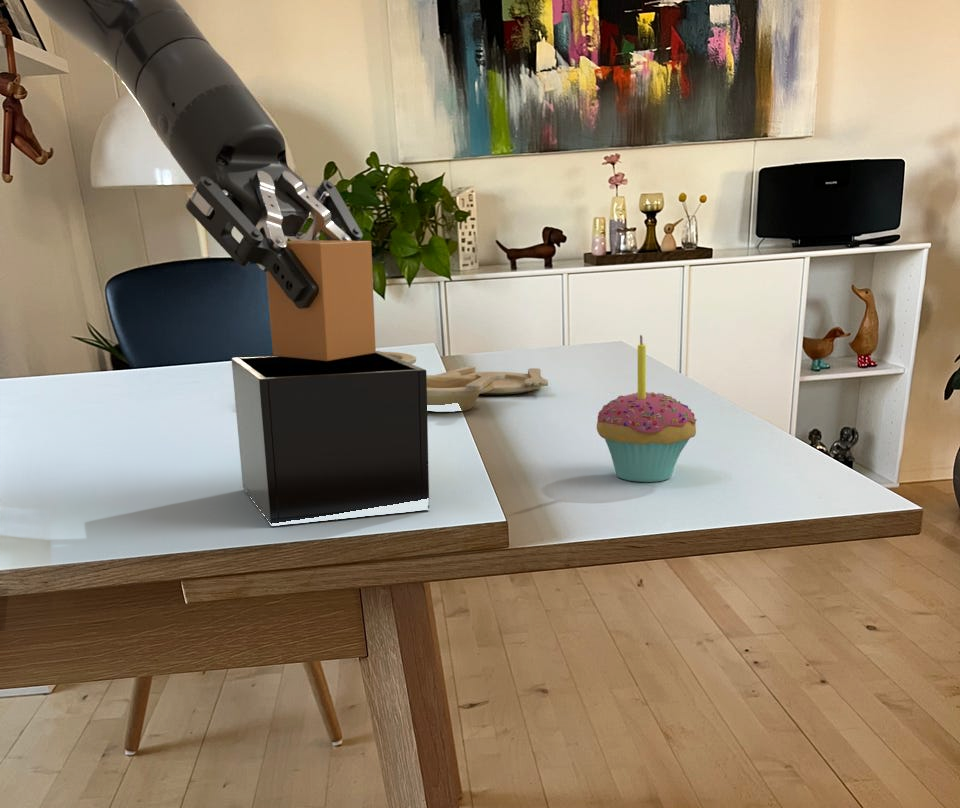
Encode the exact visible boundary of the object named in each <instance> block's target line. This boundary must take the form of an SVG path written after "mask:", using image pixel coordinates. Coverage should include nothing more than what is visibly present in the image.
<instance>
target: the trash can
mask: <svg viewBox="0 0 960 808" xmlns="http://www.w3.org/2000/svg"><path fill="white" fill-rule="evenodd" d="M383 352H384V351H381V350H376V353H373V354H367V355H361V356H355V357H349V358H344V359H338V360H332V361H319V360H309V359H299V358H289V357H279V356H273V355H267V356H247V357H232V358H231V359H230V360H231V370H232V380H233V392H234V402H235V403H234V404H235V414H236V415H235V416H236V424H237V436H238V448H239V458H240V459H239V460H240V470H241V471H240V472H241V480H242V481H241V482H242V489H243V488H244V489H245V490H246V491H247V493H248V494H249V496H250V497H251V498H252V500H253V501H254V502H255V504H256V505H257V506H258V508H259V509H260V510H261V512H262V513H263V514H264V515H265V517H266V518H267V519H268V521H269V522H270V523H271V524H272V523H279V522H286V521H291V520H300V519H305V518H314V517H319V516H326V515H333V514H339V513H344V512H350V511H356V510H362V509H368V508H374V507H379V506H387V505H393V504H399V503H404V502H410V501H418V500H421V499H427V498H429V499H430V480H429V479H430V478H429V475H430V474H429V471H430V470H429V432H428V431H429V428H428V427H429V425H428V412H427V375H428V374H427V370H426V369H424V368H422V367H420V366H417V365H415V364H410V363H407V362H405V361H403V360H400V359H398V358H395V357H393V356H390V355H388V354H385V353H383ZM244 489H243V490H244ZM247 493H246V494H247ZM249 496H248V497H249ZM250 497H249V498H250ZM252 500H251V501H252ZM255 504H254V505H255ZM258 508H257V509H258ZM261 512H260V513H261Z"/></svg>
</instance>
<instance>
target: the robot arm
mask: <svg viewBox="0 0 960 808" xmlns="http://www.w3.org/2000/svg"><path fill="white" fill-rule="evenodd" d="M32 1H33V2H34V3H35V5H36V6H37V7H38V8H39V9H40V10H41V11H42V12H43V13H44V15H45V16H46V17H47V18H49V19H50V20H51V21H52V23H54V24H55V25H56V26H57V27H59V28H60V30H62V31H63V32H65V33H66V34H67V35H69V36H70V37H72V38H73V39H74V40H76V41H78V42H79V43H81V45H83V46H84V47H86V48H87V49H88V50H90V51H91V52H93V54H95V55H96V56H97V57H98V58H100V60H102V62H104V63H105V64H106V65H108V66H109V67H110V68H111V69H112V70H113V71H114V73H115V74H116V75H117V77H118V78H119V79H120V81H121V83H122V84H123V85H124V86H125V87H126V89H127V90H128V92H129V93H130V94H131V96H132V97H133V99H134V100H135V101H136V103H137V104H138V106H139V107H140V108H141V110H142V111H143V113H144V114H145V115H144V116H146V118H147V121H148V122H149V124H150V126H151V128H152V129H153V131H154V132H155V134H156V135H157V137H158V138H159V139H160V141H161V142H162V143H163V145H164V146H165V148H166V149H167V150H168V152H169V153H170V155H171V156H172V158H173V159H174V160H175V161H176V163H177V164H178V165H179V167H180V168H181V169H182V171H183V173H184V174H185V175H186V176H187V178H188V179H189V181H190V182H191V183H192V185H193V186H194V188H193V190H192V192H191V194H190V197H189V198H188V200H187V202H186V204H185V208H186V210H187V211H188V212H189V213H190V214H191V215H192V216H193V218H195V220H196V221H197V222H198V223H199V224H200V225H201V226H202V228H204V229H205V230H206V231H207V232H208V234H210V236H211V237H212V238H213V239H214V240H215V242H216V243H218V244H219V245H220V247H221V248H222V249H223V250H224V251H225V252H226V253H227V254H228V256H230V257H231V259H232V260H233V261H234V262H235V263H236V264H238V265H239V266H241V267H247V266H249V264H250V263H253V264H256V265H257V267H258V268H259V269H260V270H262V271H263V272H266V273H267V272H270V274H271V275H272V276H273V278H274V279H275V280H276V282H277V283H278V285H280V287H281V289H282V290H283V291H284V293H285V294H286V295H287V297H288V298H289V299H291V300H292V301H293V302H294V304H295V305H296V307H297V308H299V309H303V308H309V307H310V305H311V304H312V302H313V301H314V299H315V298H316V296H317V295H318V293H319V287H318V284H317V283H316V282H315V280H314V279H313V278H312V276H311V275H310V273H309V272H308V271H307V269H306V268H305V267H304V265H303V264H302V263H301V261H300V260H299V259H298V257H297V256H296V254H295V253H294V252H293V250H292V249H285V248H286V246H287V242H286V241H287V240H286V238H287V239H289V241H306V240H320V236H321V233H322V234H323V236H324V237H325V240H339V241H362V238H363V237H364V233H363V232H362V230H361V228H360V227H359V225H358V223H357V221H356V219H355V218H354V216H353V215H352V213H351V211H350V209H349V208H348V205H347V204H346V202H345V201H344V199H343V197H342V195H341V194H340V192H339V190H338V189H337V186H336V185H335V184H334V183H333V182H332V181H330V180H328V179H323V180H322V181H321V183H320V184H319V185H318V186H317V187H316V186H311V185H307V184H306V182H305V180H304V179H303V178H302V177H301V176H300V175H298V174H297V173H296V172H295V171H293V170H292V169H291V168H290V167H289V165H288V160H287V152H286V151H287V149H286V148H287V147H286V141H285V139H284V136H283V134H282V132H281V131H280V129H279V128H278V127H277V126H276V124H275V123H274V121H273V120H272V119H271V117H270V116H269V115H268V114H267V112H266V111H265V110H264V108H263V106H262V105H261V104H260V103H259V101H258V100H257V99H256V97H255V96H254V95H253V93H252V92H251V91H250V89H249V88H248V87H247V86H246V84H245V83H244V82H243V80H242V79H241V77H240V76H239V75H238V74H237V72H236V71H235V70H234V68H233V67H232V66H231V65H230V64H229V63H228V62H227V60H225V58H223V56H221V55H220V54H219V52H218V51H216V49H215V48H214V47H213V46H212V45H211V43H210V42H209V41H208V39H207V38H206V37H205V35H204V34H203V32H202V31H201V29H199V27H198V26H197V24H196V23H195V22H194V21H193V19H192V18H191V16H190V15H189V14H188V12H187V11H186V9H185V8H183V6H182V5H181V4H180V3H179V1H178V0H32ZM309 218H311V219H312V223H311V224H310V226H309V227H308V229H307V230H306V232H303V231H302V229H303V227H304V226H305V224H306V223H307V221H308V220H309ZM234 228H235V229H236V230H237V231H238V232H239V233H240V235H241V236H242V238H241V240H240V242H239V241H238V240H237V239H236V238H235V237H234V236H233V234H232V233H233V232H232V231H233V229H234ZM342 229H343V230H342ZM375 287H376V283H375V280H374V279H373V290H374V289H375Z"/></svg>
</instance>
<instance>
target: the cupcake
mask: <svg viewBox="0 0 960 808" xmlns="http://www.w3.org/2000/svg"><path fill="white" fill-rule="evenodd" d="M643 338H644V337H643V335H642V334H640V335H639V344H637V392H635V393H630V394H626V395H619V396H617V397H616V398H615V399H612V400H610V401H608V402H607V403H606V404H604V405H602V408H601V410H599V412H598V415H597V417H596V419H597V422H596V431H597V433H598V435H599V436H600V437H601V438H602V439H604V441H605V443H606V446H607V448H608V450H609V451H608V452H609V453H610V457H611V461H612V464H613V468H614V473H615V475H616V477H617V478H619V479H621V480H625V481H629V482H638V483H658V482H663V481H667V480H669V479H671V477H672V475H673V472H674V470H675V466H676V464H677V461H678V459H679V457H680V455H681V453H682V451H683V450H684V448H685V447H686V445H687V443H688V442H689V441H690V439H692V438H694V437H695V436H696V435H697V427H696V423H697V421H698V420H697V419H696V417H695V413H694V412H692V409H691V408H689V406H688V405H687V404H684V403H681V401H680V400H677V399H676V398H674V397H673V396H672V395H666V394H665V393H660V392H658V393H655V392H654V391H652V392H647V391H646V390H647V389H646V387H647V386H646V380H647V379H646V376H647V375H646V370H647V368H646V366H647V364H646V363H647V358H646V357H647V356H646V354H647V352H646V351H647V348H646V344H645V343H643V341H644V340H643Z"/></svg>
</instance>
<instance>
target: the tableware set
mask: <svg viewBox="0 0 960 808" xmlns="http://www.w3.org/2000/svg"><path fill="white" fill-rule="evenodd" d="M382 352H383V353H385V354H388V355H390V356H393V357H395V358H398V359H400V360H403V361H405V362H407V363H410V364H412V365H414V364H415V363H416V361H417V357H416V356H414V355H412V354H409V353H404V352H395V351H382ZM541 372H542V370H541V368H537V367H531V368H527V373H525V372H524V373H523V372H515V371H514V372H513V371H476V366H474V365H473V366H471V365H469V366H463V367H459V368H456V369H452V370H449V371H445V372H442V373H439V374H429V375H428V374H427V405H445V404H452V403H458V404H459V406H460V408H461V410H462V412H461V413H463V412H466V411H469V410H472V408H473V407H474V405H475V403H476V401H477V400H478V398H479V395H485V396H486V395H487V396H488V395H496V396H497V395H498V396H499V395H518V394H525V393H528V392H529V393H530V392H531V391H534V390H538V389H541V388H543V387H548V385H549V381H548V379H547V378H544V377H542V375H541V374H542V373H541Z"/></svg>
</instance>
